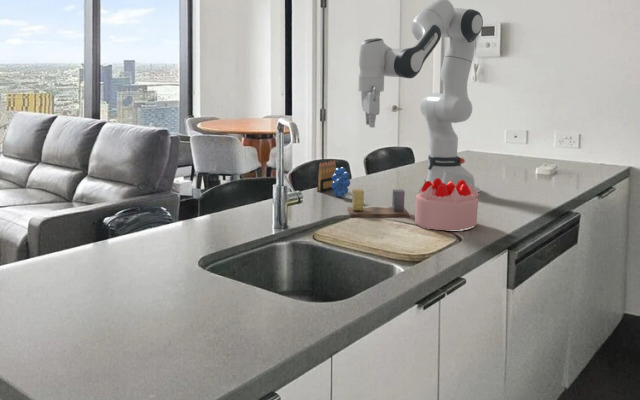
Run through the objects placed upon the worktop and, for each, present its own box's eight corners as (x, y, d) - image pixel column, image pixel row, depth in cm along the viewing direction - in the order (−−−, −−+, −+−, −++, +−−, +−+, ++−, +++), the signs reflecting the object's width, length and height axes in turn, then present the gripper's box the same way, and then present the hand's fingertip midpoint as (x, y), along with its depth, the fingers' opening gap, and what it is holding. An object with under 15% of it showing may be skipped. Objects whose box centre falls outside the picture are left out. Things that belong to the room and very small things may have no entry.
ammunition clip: (320, 192, 259) (320, 162, 257) (317, 191, 260) (317, 162, 258) (337, 188, 267) (337, 159, 265) (333, 188, 268) (334, 159, 266)
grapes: (358, 199, 247) (358, 168, 245) (343, 200, 244) (343, 169, 241) (341, 193, 257) (342, 163, 254) (327, 195, 254) (327, 164, 251)
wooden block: (362, 208, 226) (362, 189, 224) (363, 210, 222) (363, 191, 221) (352, 208, 226) (352, 189, 224) (353, 210, 222) (353, 191, 221)
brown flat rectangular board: (403, 209, 230) (403, 206, 230) (409, 216, 220) (409, 213, 219) (347, 209, 229) (347, 206, 229) (350, 217, 219) (350, 213, 218)
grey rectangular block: (402, 209, 227) (402, 189, 225) (403, 211, 223) (404, 191, 222) (392, 209, 226) (392, 189, 225) (393, 211, 223) (394, 191, 221)
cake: (413, 216, 220) (415, 175, 217) (473, 218, 219) (475, 177, 216) (416, 231, 201) (418, 186, 198) (481, 233, 200) (484, 188, 197)
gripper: (384, 87, 216) (383, 129, 219) (376, 85, 236) (375, 123, 239) (365, 87, 216) (364, 128, 219) (359, 85, 236) (358, 123, 239)
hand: (370, 125), depth 229 cm, fingers open, 8 cm apart
